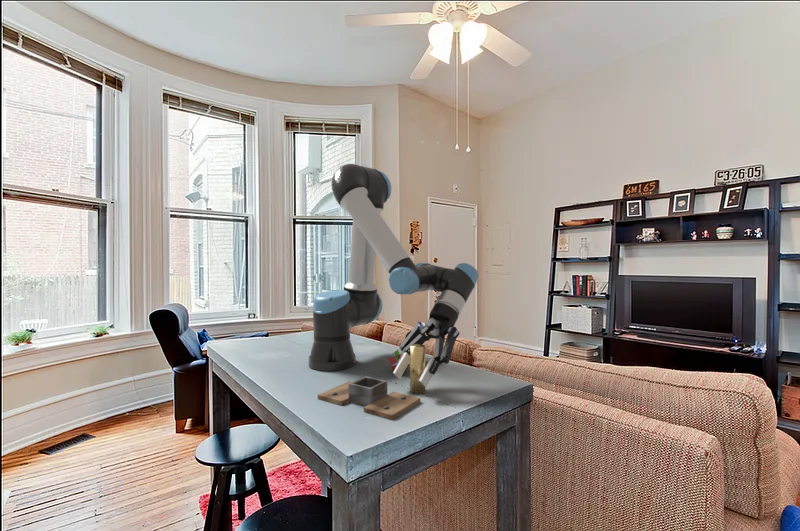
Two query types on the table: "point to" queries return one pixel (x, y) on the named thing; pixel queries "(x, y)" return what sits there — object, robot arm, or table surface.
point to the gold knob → (417, 368)
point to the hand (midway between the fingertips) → (409, 379)
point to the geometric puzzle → (395, 360)
